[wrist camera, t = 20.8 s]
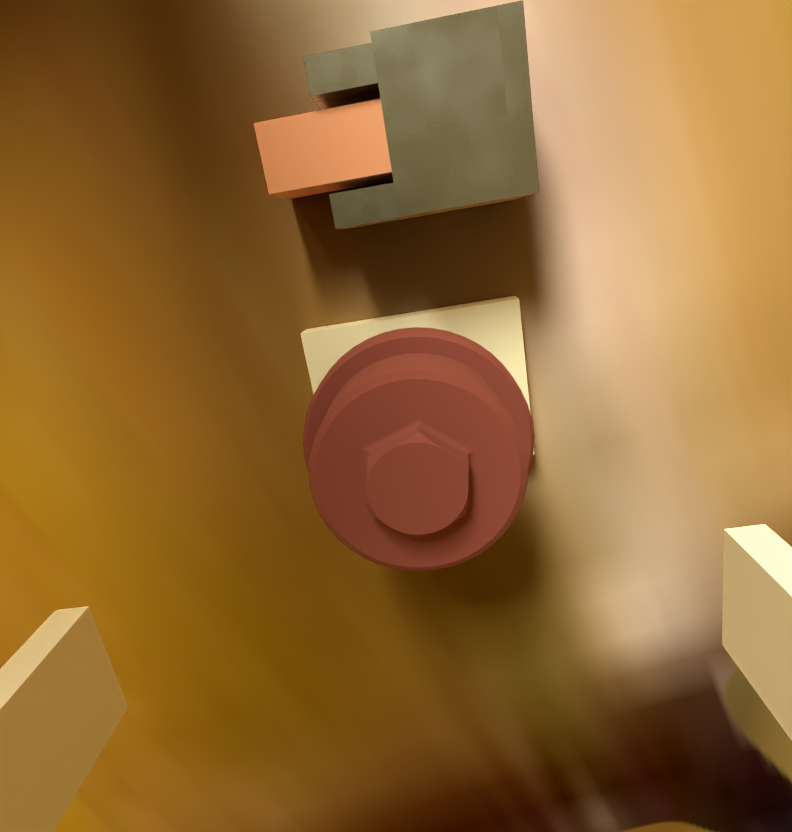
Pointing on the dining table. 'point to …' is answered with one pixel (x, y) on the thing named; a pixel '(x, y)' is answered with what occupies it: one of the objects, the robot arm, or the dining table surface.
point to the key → (324, 150)
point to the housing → (438, 113)
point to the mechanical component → (418, 449)
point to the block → (476, 321)
